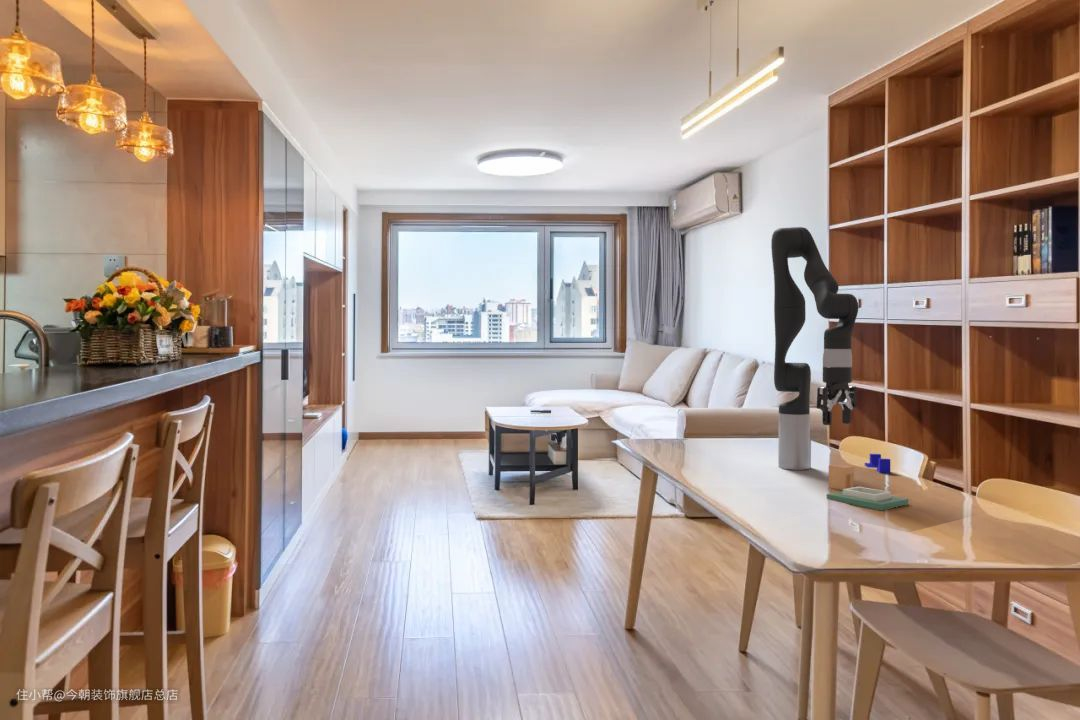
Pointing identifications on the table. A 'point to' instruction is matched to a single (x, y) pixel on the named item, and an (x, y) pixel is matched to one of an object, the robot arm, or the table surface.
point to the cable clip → (879, 463)
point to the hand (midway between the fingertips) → (836, 424)
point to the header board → (868, 498)
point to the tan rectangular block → (841, 476)
